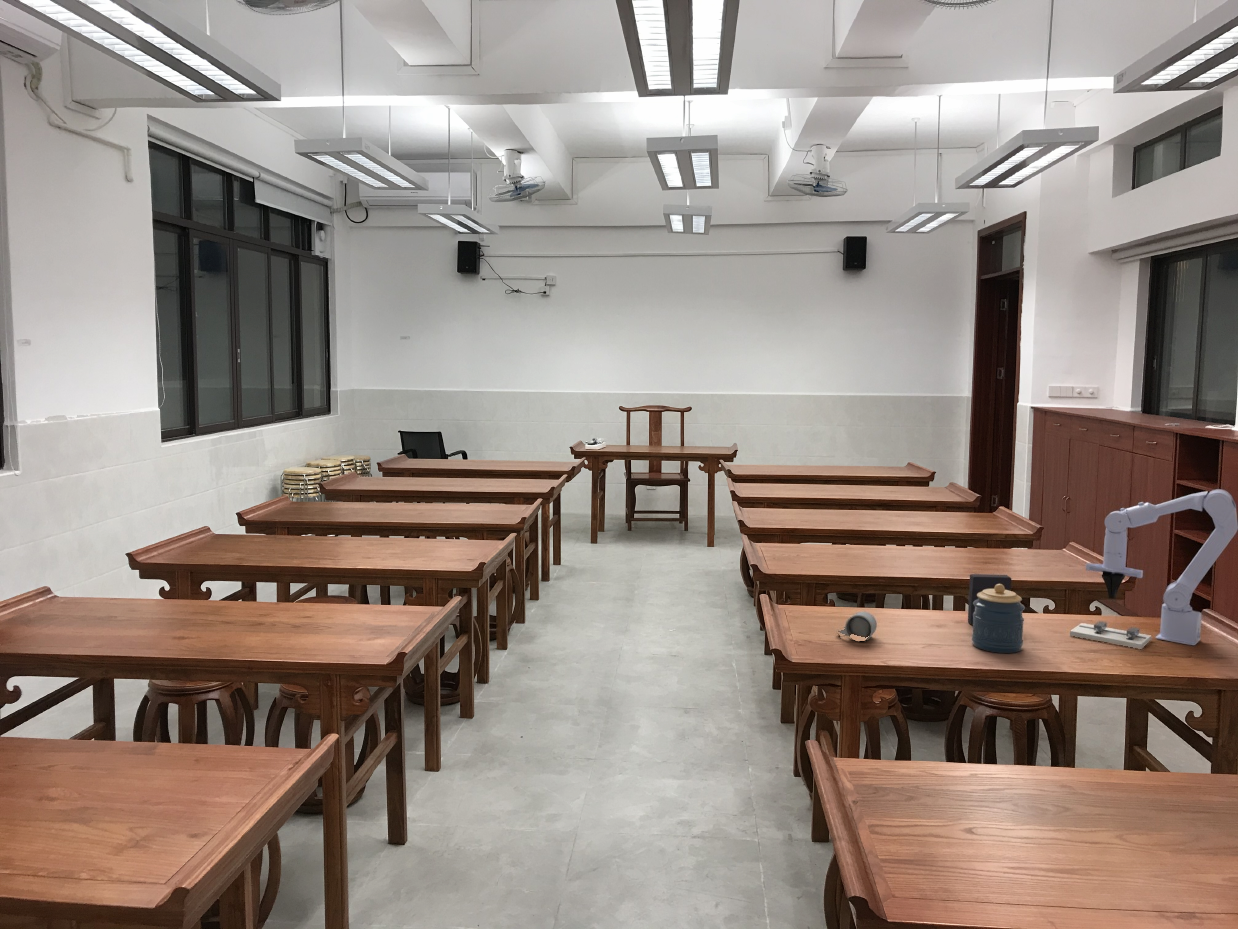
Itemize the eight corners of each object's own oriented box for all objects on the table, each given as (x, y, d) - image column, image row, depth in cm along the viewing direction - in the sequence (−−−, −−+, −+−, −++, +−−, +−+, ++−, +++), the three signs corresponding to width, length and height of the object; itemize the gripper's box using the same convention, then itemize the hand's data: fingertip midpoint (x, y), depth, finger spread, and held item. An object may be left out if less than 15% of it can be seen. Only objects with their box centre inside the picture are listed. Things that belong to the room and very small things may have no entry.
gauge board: (1150, 640, 246) (1151, 634, 246) (1140, 649, 238) (1141, 643, 238) (1081, 627, 259) (1081, 622, 259) (1069, 636, 251) (1070, 630, 251)
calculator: (1004, 623, 264) (1006, 574, 262) (1009, 627, 260) (1011, 577, 258) (966, 621, 265) (968, 573, 263) (971, 626, 261) (973, 576, 259)
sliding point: (1106, 628, 252) (1106, 622, 252) (1100, 632, 248) (1100, 626, 247) (1098, 626, 253) (1099, 621, 253) (1092, 631, 249) (1093, 625, 249)
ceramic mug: (877, 636, 250) (878, 610, 250) (872, 644, 243) (872, 617, 242) (840, 632, 255) (840, 606, 255) (834, 639, 248) (834, 613, 247)
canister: (998, 656, 233) (1001, 591, 231) (961, 643, 244) (963, 581, 242) (1033, 650, 238) (1036, 587, 236) (995, 637, 250) (998, 576, 248)
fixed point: (1139, 634, 246) (1139, 628, 246) (1133, 638, 242) (1133, 632, 242) (1131, 632, 247) (1131, 627, 247) (1125, 637, 243) (1125, 631, 243)
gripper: (1083, 550, 257) (1081, 596, 259) (1139, 558, 247) (1136, 605, 249) (1090, 547, 262) (1088, 591, 264) (1145, 554, 252) (1142, 600, 254)
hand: (1112, 598), depth 257 cm, fingers closed
